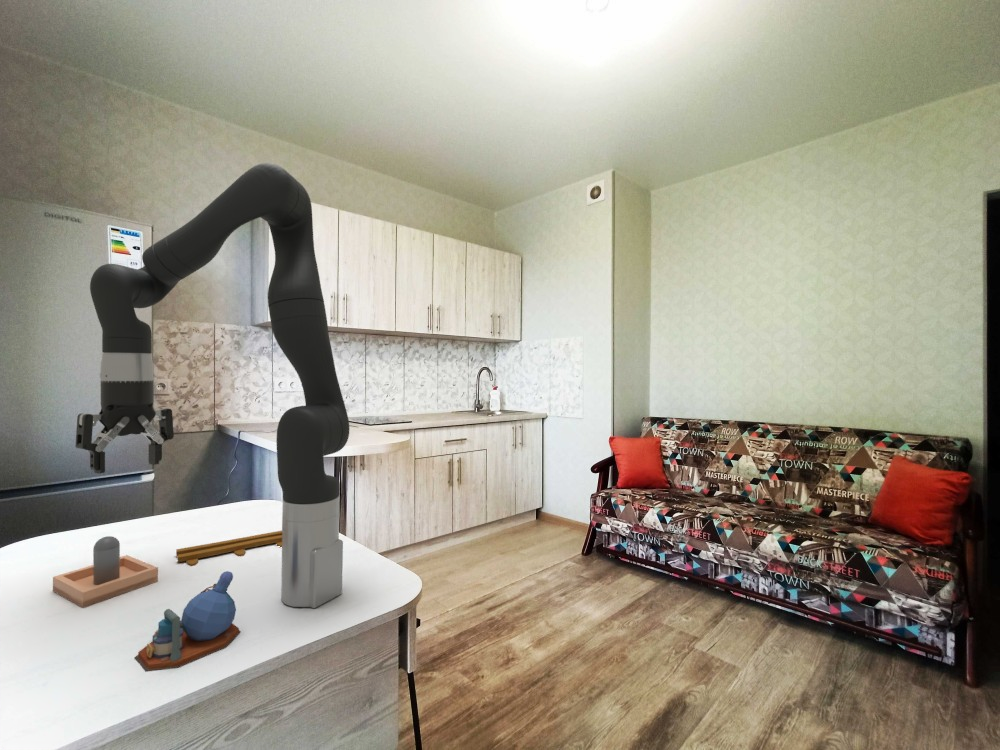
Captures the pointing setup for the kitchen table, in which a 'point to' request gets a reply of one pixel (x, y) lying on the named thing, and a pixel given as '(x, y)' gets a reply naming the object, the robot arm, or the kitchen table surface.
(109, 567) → the plug
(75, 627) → the kitchen table surface
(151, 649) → the model
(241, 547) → the decorative fence
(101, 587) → the dish
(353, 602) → the kitchen table surface
